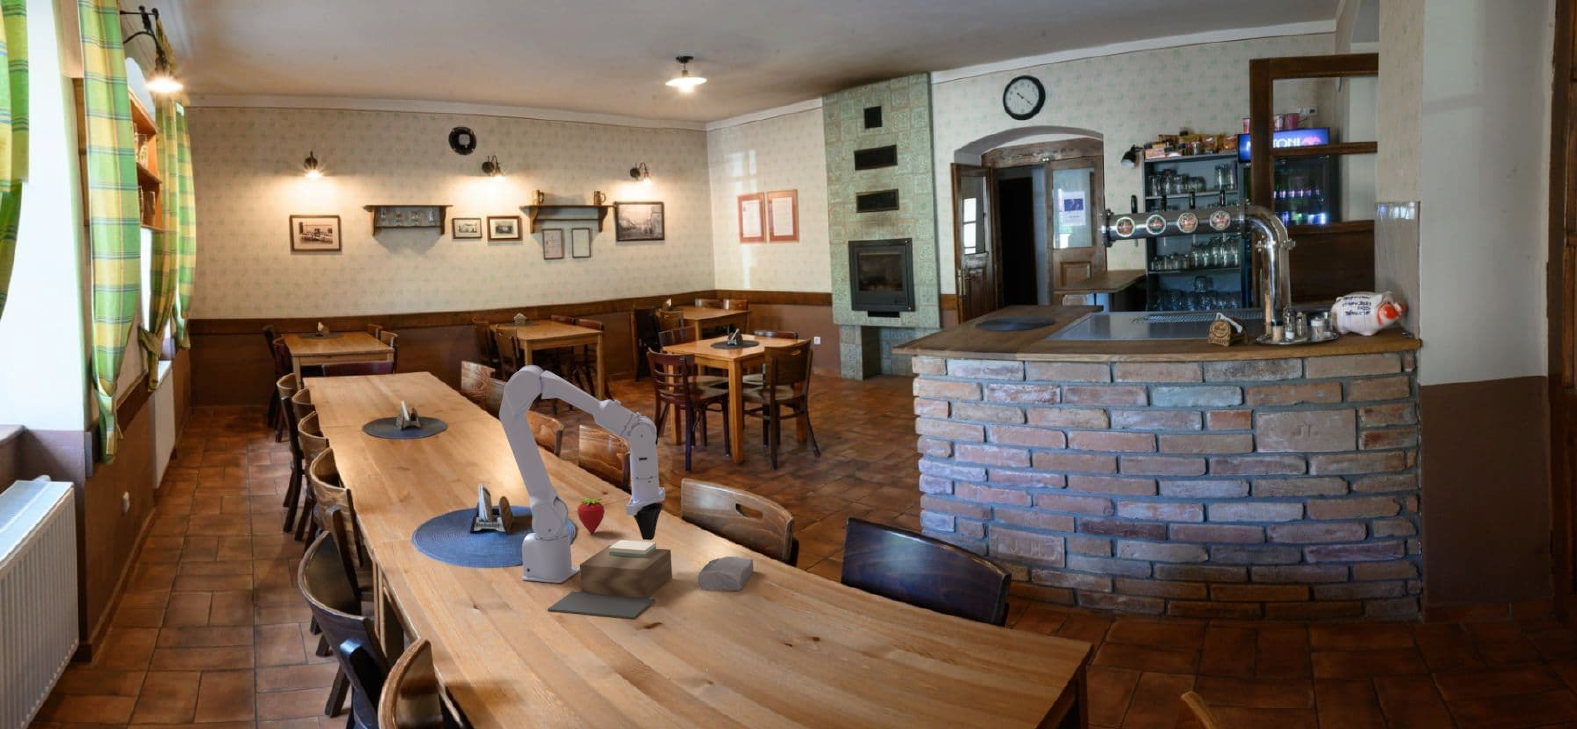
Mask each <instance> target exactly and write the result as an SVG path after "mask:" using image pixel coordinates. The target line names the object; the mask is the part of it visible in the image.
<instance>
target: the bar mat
mask: <svg viewBox="0 0 1577 729" xmlns="http://www.w3.org/2000/svg"><path fill="white" fill-rule="evenodd" d="M655 602H656V598H651V597H649V598H642V597H631V596H619V595H608V594H597V593H586V592H581V591H574V590H572V591H571V592H570V593H568V594H566V595H565V596H563V597H562V598H561V599H559V600H558V601H556V602H555V603H554V604H553V605H551V606H549V607H548V608H547V611H548V612H554V613H556V612H557V613H566V614H577V615H589V616H595V617H596V616H598V617H607V618H617V619H618V618H619V619H628V620H629V619H630V620H636V618H637V617H638V616H639V615H640V614H642V613H643V612H644V611H645V610H647V609H648V608H649V607H650V606H651V605H653V603H655Z"/></svg>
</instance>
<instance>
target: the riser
mask: <svg viewBox="0 0 1577 729" xmlns="http://www.w3.org/2000/svg"><path fill="white" fill-rule="evenodd" d="M612 545H613V544H612ZM612 545H611V544H610V545H608V546H606V547H605V548H603V549H602V550H601V549H600V551H598V552H597V553H595V554H594V555H593V556H590V557H589V558H588V559H586V560H585V561H583V562H582V563H580V564H579V568H580V571H579V574H580V576H579V577H580V589H581V591H580V592H586V593H597V594H608V595H619V596H631V597H642V598H651V596H652V595H654V594H655V593H656V592H657V591H658V590H660V589H661V588H662V587H663V586H664V585H666V584H667V583H668V582H669V581H671V579H673V572H672V571H673V570H672V569H673V568H672V552H671V550H672V549H666V548H656V550H655V551H653V552H652V553H651V554H649V555H648V556H647V557H645V558H644V557H631V556H617V555H609V547H611V546H612Z"/></svg>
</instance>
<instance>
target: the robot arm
mask: <svg viewBox="0 0 1577 729" xmlns="http://www.w3.org/2000/svg"><path fill="white" fill-rule="evenodd" d="M540 394H542V395H541V400H546V399H560V400H562V401H564V402H565V403H568V404H570V405H572V406H574V407H576V408H578V409H580V410H582V411H584V412H585V413H588V414H590V415H592V417H593V419H594V423H595V424H596V425H598V426H599V427H601V428H604V429H605V430H606V431H609V432H610V433H612V434H613V435H616V436H618V437H620V438H621V439H626V440H627V442H628V443H629V444H628V445H630V455H629V464H630V465H629V467H630V484H631V486H630V487H631V497H630V500H629V502H628V504H626V505H625V514H626V516H632V517H633V518H634V519H635V521H636V523H637V527H638V529H639V532H640V535H641V538H642V540H645V541H652V540H654V538H655V536H656V535H655V534H656V530H657V523H658V521H659V517H660V513H661V511H662V510H663V507H664V506H663V505H664V504H663V503H662V502H663V501H665V499H666V487H660V480H659V479H660V478H659V462H658V461H659V460H658V459H659V458H658V456H659V455H658V452H657V447H658V446H657V444H656V441H657V426H656V424H655V423H654V422H653V420H651V419H650V418H649V417H648V416H645V415H643V416H642V413H640V412H638V411H637V412H636V413H635V412H634V411H631V410H630V409H628V408H626V407H625V406H623V405H622V402H621V401H619V400H618V399H614V401H613V400H612V399H606V400H601V401H600V400H599V399H597V398H595V396H592V395H591V394H589V393H587V392H586V391H584V390H582V389H581V388H579V387H578V386H575V385H573V384H572V383H570V382H569V381H567V380H566V379H564V378H562V377H560V376H558V375H556V374H555V373H554V372H552V371H549V370H544V369H542V368H541V367H540V366H538V365H533V364H530V365H525V366H523V367H521V368H520V369H519V371H516V372H515V373H514V374H513V375H511V377H510V379H509V380H508V381H507V383H506V384H505V386H504V387H503V395H502V400H501V403H500V408H499V412H498V415H499V416H498V418H499V420H500V423H501V425H502V428H503V431H504V433H505V437H506V439H507V441H508V444H509V447H510V449H511V452H512V455H513V457H514V460H515V462H516V465H517V467H518V471H519V474H520V475H521V479H522V481H523V484H524V485H525V489H526V492H527V494H528V498H529V508H530V511H531V515H532V520H531V527H532V530H533V532H531V533H528V534H527V535H526V536H525V537H524V539H523V540H522V541H523V542H522V545H521V555H522V567H523V568H522V570H523V576H522V577H521V580H522V581H533V582H543V583H544V582H545V583H553V584H554V583H555V584H556V583H558V584H562V583H564V582H565V581H567V580H568V579H570V578H572V576H574V575H575V574H577V573H579V572H580V567H574V566H573V564H572V563H573V562H572V549H571V535H570V528H569V527H567V525H566V524H565V522H566V521H567V520H568V517H569V507H568V505H567V503H566V502H565V501H564V500H562V499H561V497H560V496H559V493H558V491H557V489H556V488H555V487H554V485H553V484H552V482H551V479H550V476H549V473H548V470H547V468H546V467H545V464H544V461H543V458H542V455H541V453H540V450H539V448H538V445H537V442H536V439H535V437H534V434H533V430H532V429H531V428H532V427H531V426H530V423H529V421H528V418H527V413H528V411H529V410H530V408H531V406H532V404H533V402H534V400H536V398H537V397H538V396H539V395H540Z"/></svg>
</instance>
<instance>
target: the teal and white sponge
mask: <svg viewBox="0 0 1577 729" xmlns="http://www.w3.org/2000/svg"><path fill="white" fill-rule="evenodd" d="M656 549H657V542H654V541H640V540H627V539H626V540H625V539H624V540H623V539H620V540H618V541H617V542H616V543H614V544H612V546H611V547H609V555H617V556H631V557H644V558H645V557H647V556H648V555H649V554H651V553H652V552H653V551H655V550H656Z"/></svg>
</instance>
